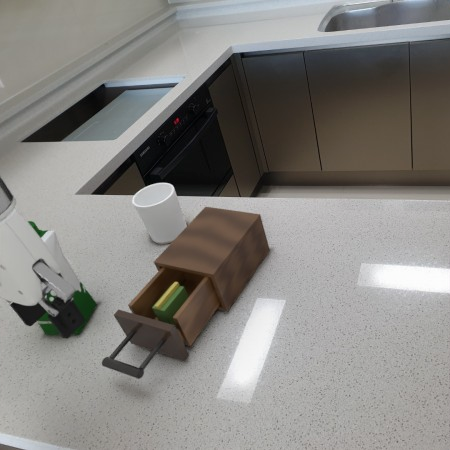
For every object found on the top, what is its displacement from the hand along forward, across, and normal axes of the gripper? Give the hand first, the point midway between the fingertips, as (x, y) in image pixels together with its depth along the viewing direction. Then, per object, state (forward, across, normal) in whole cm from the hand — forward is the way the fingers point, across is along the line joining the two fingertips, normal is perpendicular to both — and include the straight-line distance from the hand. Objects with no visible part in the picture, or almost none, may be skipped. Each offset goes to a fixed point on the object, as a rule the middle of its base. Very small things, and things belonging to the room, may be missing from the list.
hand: (55, 322), depth 57 cm
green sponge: (+18, 0, +16) cm, 24 cm away
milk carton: (+20, -22, +11) cm, 32 cm away
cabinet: (+20, 0, +30) cm, 35 cm away
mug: (+20, -20, +38) cm, 48 cm away
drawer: (+19, 0, +14) cm, 23 cm away
